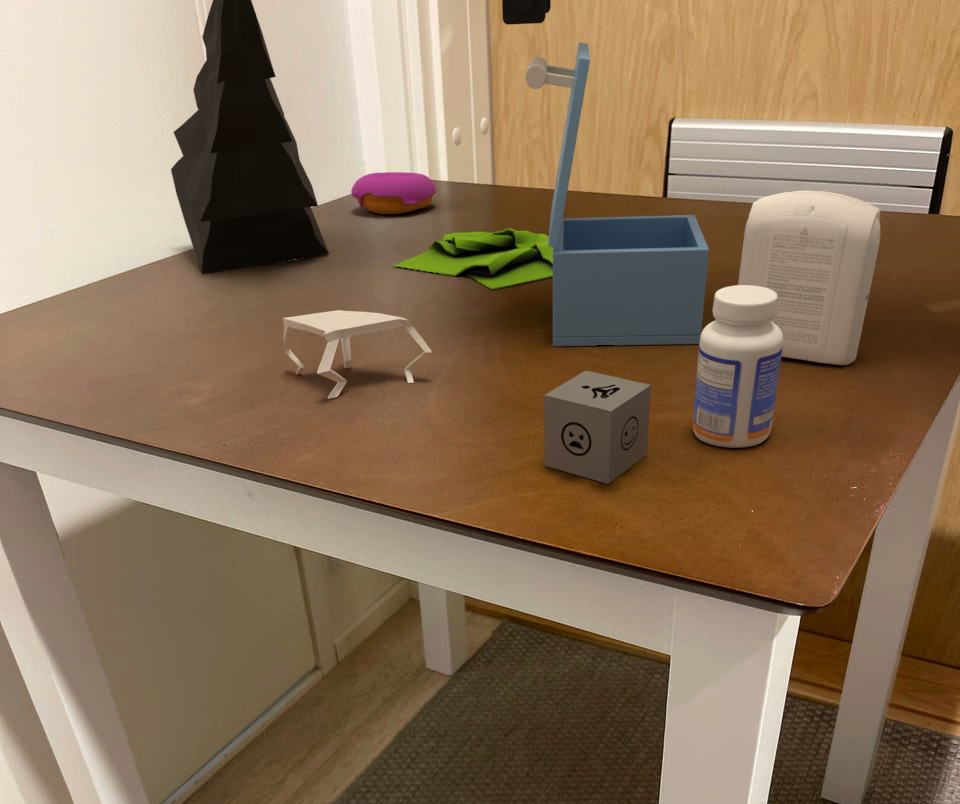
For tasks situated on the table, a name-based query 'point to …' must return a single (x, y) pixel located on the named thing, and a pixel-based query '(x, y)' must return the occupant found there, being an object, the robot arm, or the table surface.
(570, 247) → the case
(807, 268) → the photo printer
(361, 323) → the origami figure
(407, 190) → the donut
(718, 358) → the pill bottle
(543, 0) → the robot arm
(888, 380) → the table surface
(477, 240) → the cloth
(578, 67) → the case lid
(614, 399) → the dice cube
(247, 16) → the decorative tree
